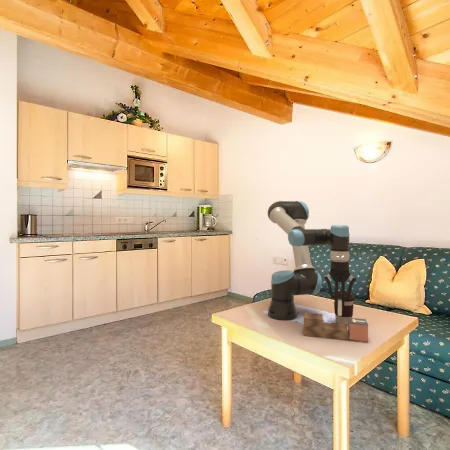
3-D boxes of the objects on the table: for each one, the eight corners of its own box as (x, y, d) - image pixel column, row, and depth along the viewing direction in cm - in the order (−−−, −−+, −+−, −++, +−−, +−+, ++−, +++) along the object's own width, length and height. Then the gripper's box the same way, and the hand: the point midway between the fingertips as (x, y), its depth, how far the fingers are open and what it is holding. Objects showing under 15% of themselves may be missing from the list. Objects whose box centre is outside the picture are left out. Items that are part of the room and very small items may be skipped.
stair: (303, 335, 129) (303, 317, 129) (304, 329, 136) (304, 312, 136) (367, 342, 121) (367, 323, 121) (364, 335, 129) (364, 317, 129)
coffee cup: (352, 320, 148) (352, 290, 148) (356, 327, 138) (356, 295, 138) (331, 319, 150) (331, 289, 150) (334, 325, 141) (334, 294, 140)
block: (368, 324, 121) (368, 341, 121) (365, 319, 128) (365, 335, 128) (349, 322, 123) (349, 339, 123) (348, 317, 130) (348, 333, 130)
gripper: (324, 261, 126) (324, 316, 126) (357, 262, 122) (357, 318, 122) (323, 259, 133) (323, 310, 133) (355, 260, 129) (354, 313, 130)
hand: (339, 314), depth 128 cm, fingers closed
